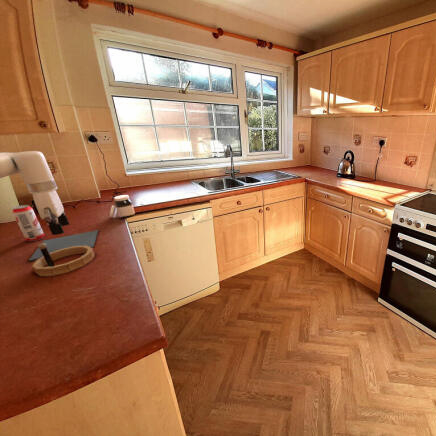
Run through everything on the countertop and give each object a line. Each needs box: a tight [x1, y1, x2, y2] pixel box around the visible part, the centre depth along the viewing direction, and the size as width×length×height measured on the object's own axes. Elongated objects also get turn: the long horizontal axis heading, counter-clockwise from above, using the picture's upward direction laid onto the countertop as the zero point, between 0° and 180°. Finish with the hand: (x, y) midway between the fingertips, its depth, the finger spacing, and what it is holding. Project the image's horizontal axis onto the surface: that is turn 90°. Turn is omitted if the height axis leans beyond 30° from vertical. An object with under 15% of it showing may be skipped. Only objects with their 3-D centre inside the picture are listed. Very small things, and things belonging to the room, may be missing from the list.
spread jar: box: [109, 194, 136, 220], centre depth 135 cm, size 12×11×12 cm
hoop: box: [31, 246, 96, 277], centre depth 92 cm, size 17×17×3 cm
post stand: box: [37, 242, 56, 267], centre depth 86 cm, size 3×3×11 cm
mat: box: [28, 229, 99, 262], centre depth 107 cm, size 20×20×1 cm
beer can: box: [12, 204, 45, 243], centre depth 110 cm, size 6×6×16 cm
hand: (61, 229), depth 94 cm, fingers open, 9 cm apart
